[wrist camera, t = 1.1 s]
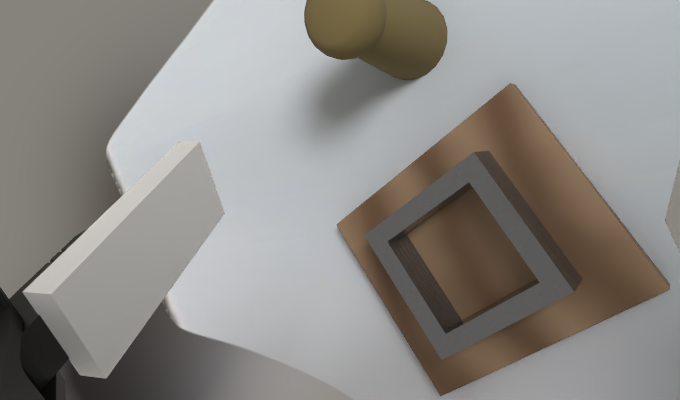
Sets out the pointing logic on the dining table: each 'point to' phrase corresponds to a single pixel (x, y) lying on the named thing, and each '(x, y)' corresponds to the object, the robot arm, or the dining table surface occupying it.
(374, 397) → the dining table surface
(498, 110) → the socket plate
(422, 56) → the cork
